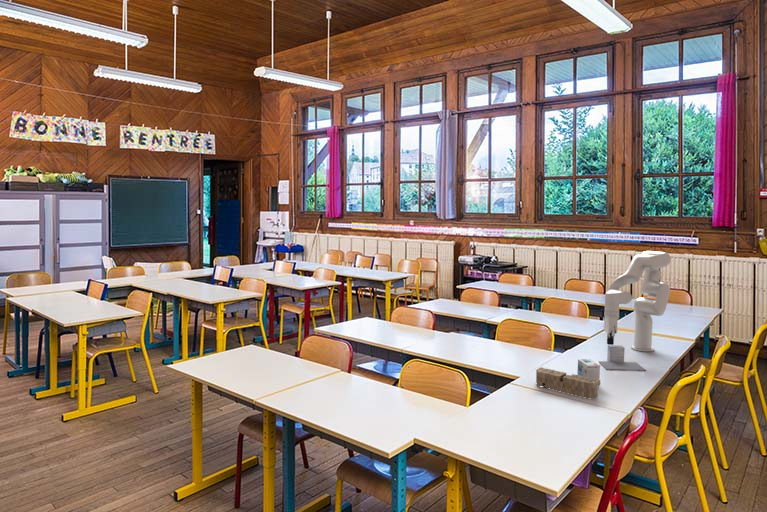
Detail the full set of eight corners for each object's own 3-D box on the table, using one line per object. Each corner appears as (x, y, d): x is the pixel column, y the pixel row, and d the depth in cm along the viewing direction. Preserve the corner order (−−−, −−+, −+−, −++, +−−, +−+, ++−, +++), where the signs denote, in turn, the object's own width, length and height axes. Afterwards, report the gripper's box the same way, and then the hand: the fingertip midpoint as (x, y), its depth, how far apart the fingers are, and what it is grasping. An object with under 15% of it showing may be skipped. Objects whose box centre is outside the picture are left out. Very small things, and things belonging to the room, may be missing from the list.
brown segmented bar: (533, 387, 259) (593, 400, 239) (533, 370, 259) (593, 382, 239) (541, 383, 265) (600, 396, 245) (541, 367, 264) (600, 378, 245)
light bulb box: (576, 380, 267) (577, 359, 266) (589, 379, 268) (590, 358, 267) (586, 387, 257) (587, 365, 256) (599, 386, 257) (600, 365, 256)
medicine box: (621, 360, 301) (622, 345, 301) (624, 362, 297) (624, 347, 296) (606, 360, 302) (607, 345, 301) (609, 362, 298) (610, 347, 297)
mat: (598, 362, 298) (598, 361, 297) (636, 363, 296) (636, 362, 296) (606, 369, 284) (606, 368, 284) (645, 371, 282) (645, 369, 282)
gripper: (600, 310, 315) (599, 340, 317) (608, 315, 300) (607, 347, 302) (613, 310, 314) (612, 341, 316) (622, 315, 299) (621, 347, 301)
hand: (610, 344), depth 309 cm, fingers closed
